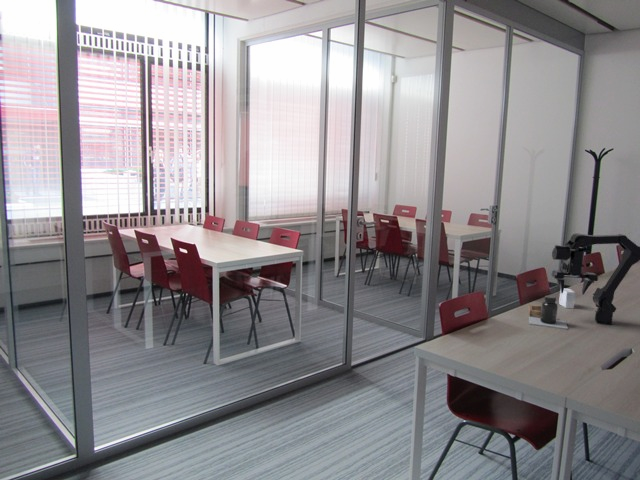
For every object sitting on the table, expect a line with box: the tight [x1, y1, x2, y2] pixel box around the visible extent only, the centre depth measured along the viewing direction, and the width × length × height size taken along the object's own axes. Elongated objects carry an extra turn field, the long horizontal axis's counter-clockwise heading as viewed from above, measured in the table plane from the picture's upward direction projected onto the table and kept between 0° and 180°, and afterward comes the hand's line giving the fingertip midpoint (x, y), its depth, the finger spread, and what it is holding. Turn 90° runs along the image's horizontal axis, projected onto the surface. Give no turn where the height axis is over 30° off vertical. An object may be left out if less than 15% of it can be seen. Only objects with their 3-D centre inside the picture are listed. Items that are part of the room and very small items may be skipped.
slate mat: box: [528, 316, 569, 330], centre depth 235 cm, size 16×11×1 cm
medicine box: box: [558, 287, 576, 309], centre depth 264 cm, size 8×4×9 cm, turn 179°
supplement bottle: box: [540, 295, 559, 324], centre depth 235 cm, size 7×7×12 cm
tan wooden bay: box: [528, 304, 542, 318], centre depth 248 cm, size 10×11×3 cm
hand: (572, 293), depth 239 cm, fingers open, 9 cm apart
